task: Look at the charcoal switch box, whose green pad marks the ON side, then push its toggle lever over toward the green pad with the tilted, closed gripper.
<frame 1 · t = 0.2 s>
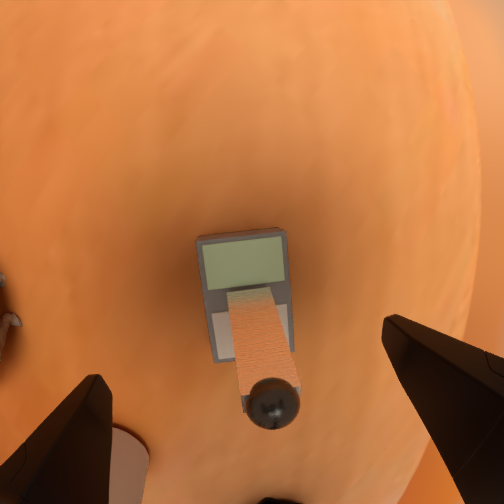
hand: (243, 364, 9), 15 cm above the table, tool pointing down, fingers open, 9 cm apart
switch box: (243, 283, 24), on the table
toggle lever: (260, 352, 16), point 8 cm above the table, hinge at -20.0°
can: (116, 444, 26), on the table
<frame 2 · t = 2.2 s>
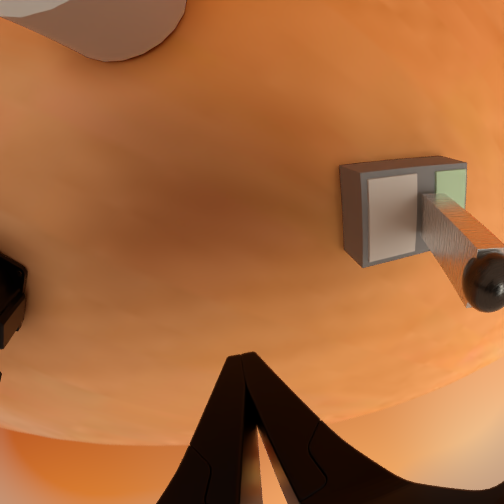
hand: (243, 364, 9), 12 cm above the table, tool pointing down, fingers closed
switch box: (402, 199, 21), on the table
toggle lever: (460, 246, 13), point 8 cm above the table, hinge at -20.0°
can: (127, 11, 13), on the table
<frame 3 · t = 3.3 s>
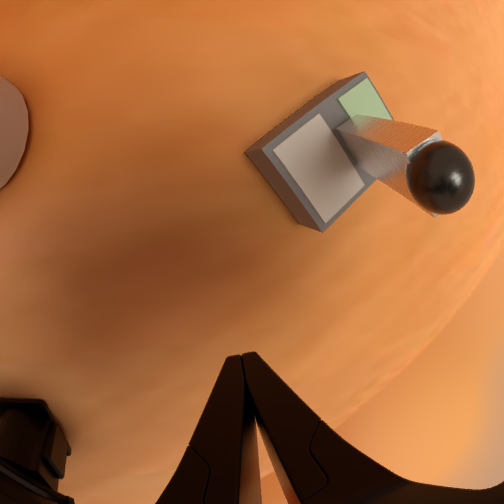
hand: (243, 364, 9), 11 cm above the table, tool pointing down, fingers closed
switch box: (326, 143, 20), on the table
toggle lever: (397, 156, 12), point 8 cm above the table, hinge at -20.0°
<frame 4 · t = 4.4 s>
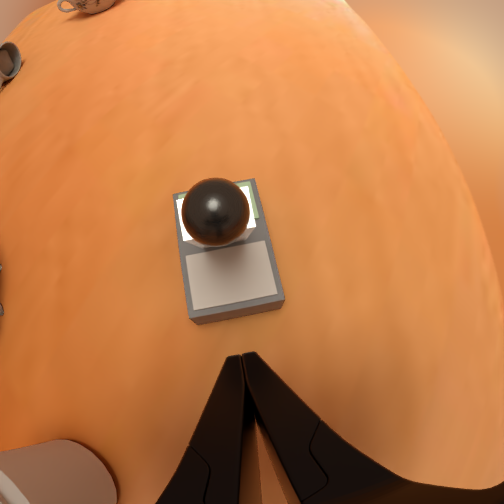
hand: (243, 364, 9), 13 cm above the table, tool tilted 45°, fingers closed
teacup: (96, 10, 43), on the table
switch box: (226, 251, 23), on the table
toggle lever: (218, 223, 15), point 8 cm above the table, hinge at -20.0°
ceramic mug: (2, 84, 36), on the table
can: (81, 478, 17), on the table
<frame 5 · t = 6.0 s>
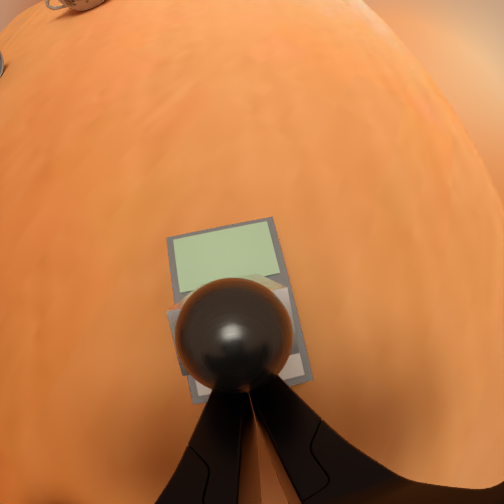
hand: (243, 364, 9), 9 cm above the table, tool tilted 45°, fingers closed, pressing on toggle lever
teacup: (87, 7, 39), on the table
switch box: (235, 308, 18), on the table
toggle lever: (232, 311, 10), point 8 cm above the table, hinge at -20.0°, touching gripper
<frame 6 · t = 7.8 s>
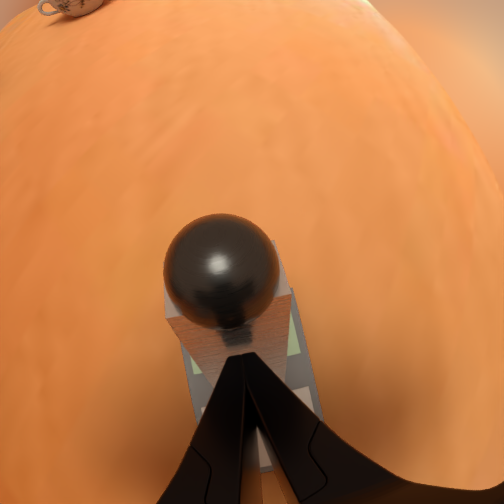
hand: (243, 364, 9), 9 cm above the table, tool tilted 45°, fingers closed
teacup: (82, 12, 37), on the table
switch box: (250, 376, 17), on the table
toggle lever: (238, 335, 10), point 8 cm above the table, hinge at 19.0°
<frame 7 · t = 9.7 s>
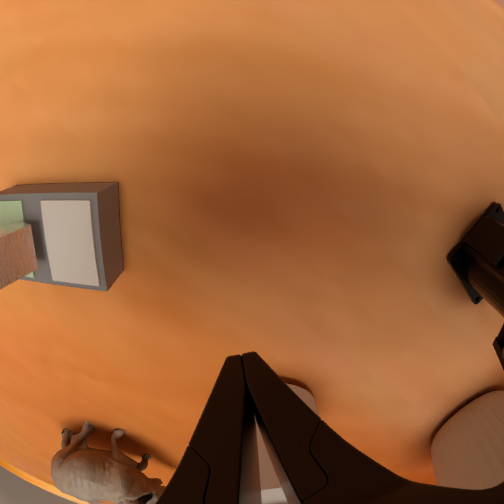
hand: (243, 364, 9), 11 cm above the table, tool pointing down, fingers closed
switch box: (59, 225, 19), on the table
canister: (467, 417, 29), on the table
rhinoceros figurine: (121, 443, 29), on the table
can: (272, 402, 25), on the table
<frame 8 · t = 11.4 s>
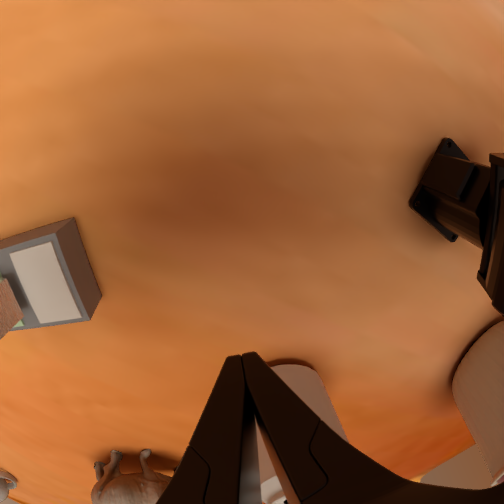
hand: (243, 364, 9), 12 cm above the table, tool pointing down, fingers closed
switch box: (34, 271, 19), on the table
canister: (481, 354, 31), on the table
rhinoceros figurine: (151, 462, 30), on the table
can: (278, 385, 26), on the table
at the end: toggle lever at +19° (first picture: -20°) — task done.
